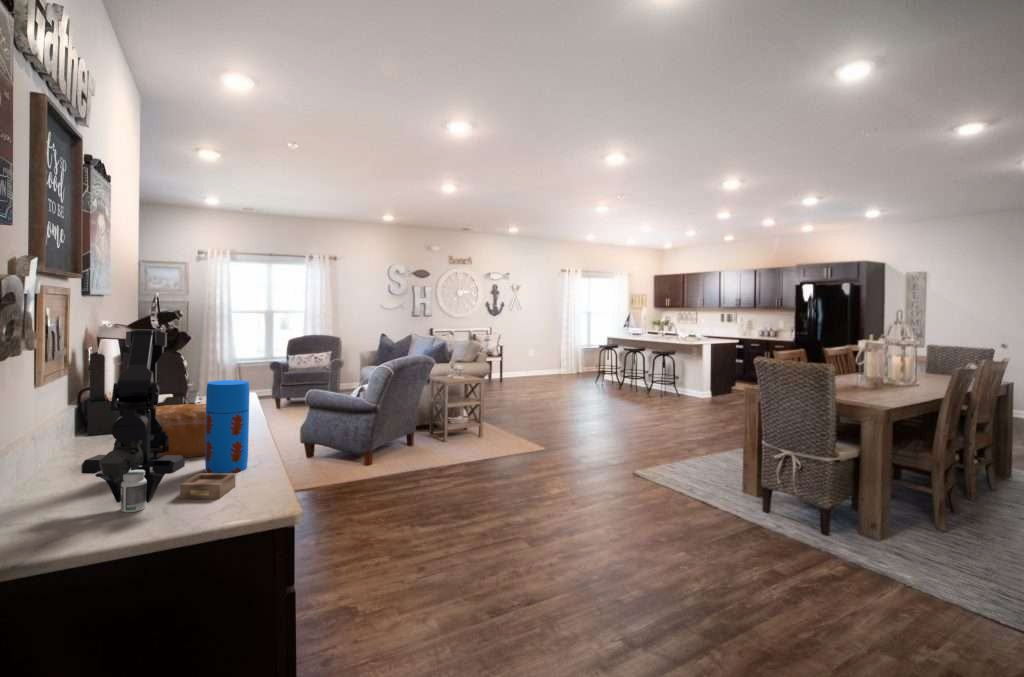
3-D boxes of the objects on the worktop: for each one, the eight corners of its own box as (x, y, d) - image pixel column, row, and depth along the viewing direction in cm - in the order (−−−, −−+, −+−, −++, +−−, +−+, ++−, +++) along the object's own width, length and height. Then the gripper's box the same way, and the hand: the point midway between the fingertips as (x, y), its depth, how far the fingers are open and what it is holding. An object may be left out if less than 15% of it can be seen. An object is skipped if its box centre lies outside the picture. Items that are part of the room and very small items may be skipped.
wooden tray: (179, 499, 123) (179, 484, 123) (198, 486, 132) (198, 473, 132) (219, 499, 124) (219, 484, 124) (235, 486, 133) (235, 473, 133)
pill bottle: (151, 506, 117) (152, 470, 117) (131, 514, 113) (132, 476, 112) (135, 504, 119) (136, 468, 118) (115, 511, 114) (115, 473, 114)
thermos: (217, 477, 140) (219, 385, 139) (197, 469, 145) (198, 382, 145) (255, 468, 149) (257, 382, 148) (235, 461, 155) (236, 379, 154)
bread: (231, 454, 163) (232, 405, 163) (129, 465, 147) (129, 411, 147) (224, 444, 174) (225, 398, 174) (128, 454, 158) (129, 404, 158)
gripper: (62, 441, 106) (61, 515, 107) (159, 442, 108) (158, 515, 109) (99, 429, 117) (98, 497, 118) (186, 430, 119) (185, 497, 120)
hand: (133, 501), depth 116 cm, fingers open, 6 cm apart
